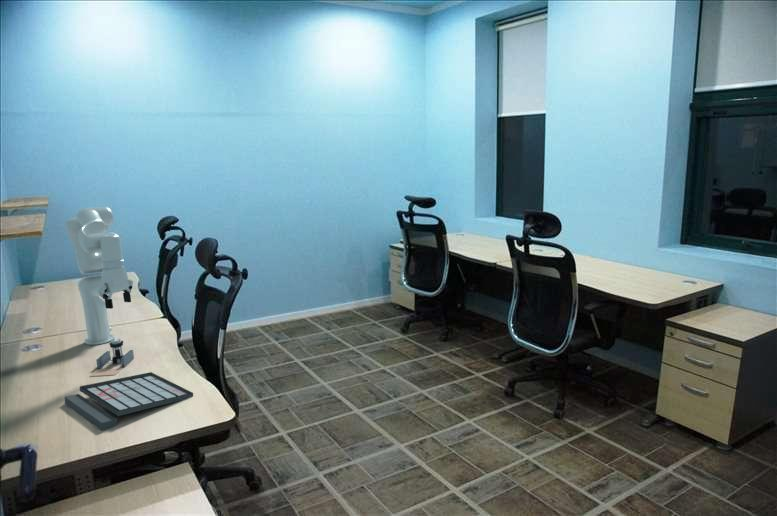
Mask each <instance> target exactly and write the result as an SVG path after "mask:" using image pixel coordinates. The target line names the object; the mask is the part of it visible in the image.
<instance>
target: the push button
mask: <svg viewBox="0 0 777 516" xmlns="http://www.w3.org/2000/svg"><path fill="white" fill-rule="evenodd" d="M108 343H109V347H110V348H112V349H111V351H112V357H111V360H110V361H109V362H108V363H107V364H112V365H116V364H121V358H122V357H123V356H124V355H125V354H124V353H123V346H124V341H123V340H121V338H114V339H113V340H112V341H110V342H108Z"/></svg>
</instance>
